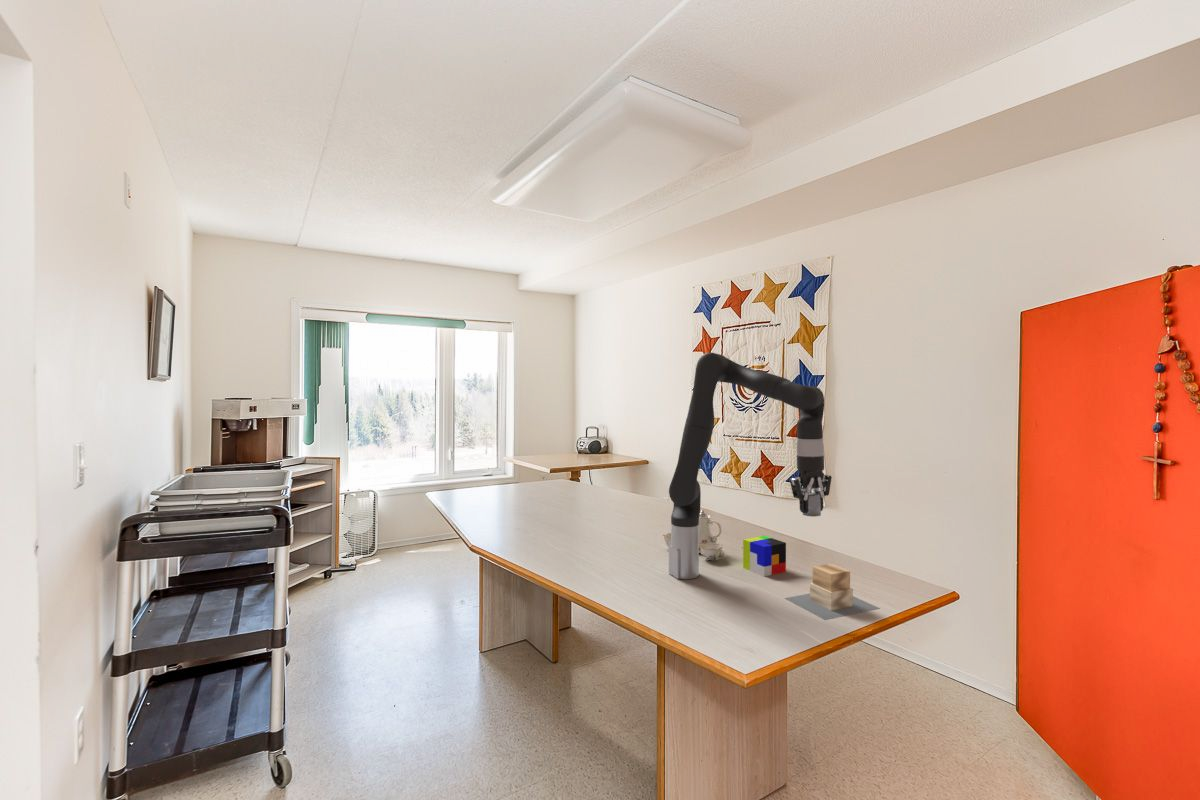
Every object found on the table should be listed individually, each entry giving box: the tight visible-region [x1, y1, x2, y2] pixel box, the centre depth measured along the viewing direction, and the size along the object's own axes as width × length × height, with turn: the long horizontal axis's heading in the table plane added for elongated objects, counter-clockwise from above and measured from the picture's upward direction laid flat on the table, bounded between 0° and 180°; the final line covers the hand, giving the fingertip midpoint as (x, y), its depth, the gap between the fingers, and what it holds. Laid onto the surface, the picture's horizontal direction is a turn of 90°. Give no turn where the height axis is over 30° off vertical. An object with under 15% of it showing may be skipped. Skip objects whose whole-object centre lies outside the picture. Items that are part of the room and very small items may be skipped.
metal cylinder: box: [802, 492, 822, 518], centre depth 157 cm, size 5×5×6 cm
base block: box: [809, 582, 854, 611], centre depth 155 cm, size 8×8×5 cm
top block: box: [812, 563, 851, 592], centre depth 155 cm, size 7×7×5 cm
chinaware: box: [662, 508, 726, 561], centre depth 205 cm, size 28×17×17 cm, turn 47°
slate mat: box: [784, 593, 881, 621], centre depth 155 cm, size 20×16×1 cm
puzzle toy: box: [742, 535, 787, 577], centre depth 185 cm, size 10×10×10 cm
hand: (811, 511), depth 157 cm, fingers closed on metal cylinder, 5 cm apart
